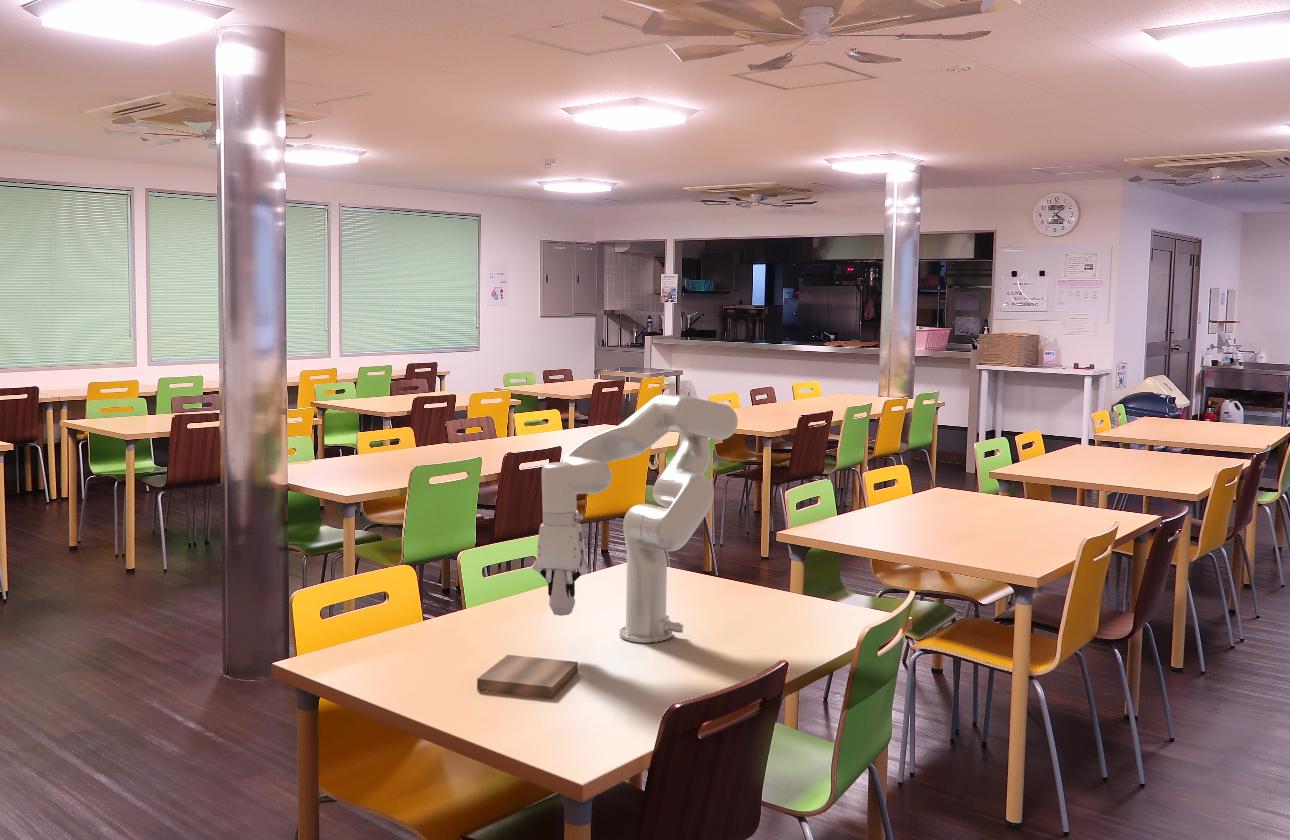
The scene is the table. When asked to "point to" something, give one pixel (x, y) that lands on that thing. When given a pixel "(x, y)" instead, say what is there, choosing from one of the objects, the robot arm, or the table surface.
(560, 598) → the salt shaker
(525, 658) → the walnut base
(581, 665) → the table surface
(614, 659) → the table surface
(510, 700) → the table surface
